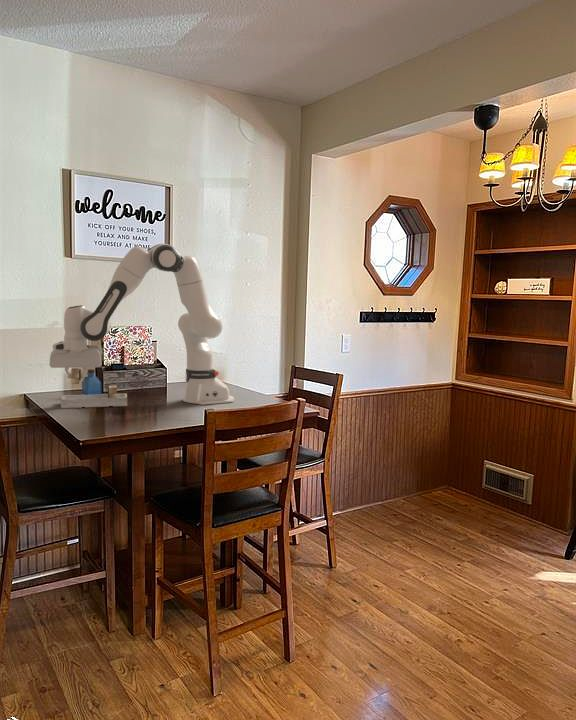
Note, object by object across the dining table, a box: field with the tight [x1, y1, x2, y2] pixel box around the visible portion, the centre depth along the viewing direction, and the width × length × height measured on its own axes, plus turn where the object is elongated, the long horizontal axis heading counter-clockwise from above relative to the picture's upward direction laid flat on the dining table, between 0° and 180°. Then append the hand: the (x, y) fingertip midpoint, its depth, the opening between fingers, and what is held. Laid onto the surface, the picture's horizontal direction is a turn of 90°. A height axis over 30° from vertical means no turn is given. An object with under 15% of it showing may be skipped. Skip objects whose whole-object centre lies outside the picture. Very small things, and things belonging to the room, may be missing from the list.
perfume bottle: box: [81, 368, 102, 395], centre depth 258 cm, size 6×6×12 cm
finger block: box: [70, 368, 82, 385], centre depth 238 cm, size 4×5×6 cm
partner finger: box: [107, 384, 118, 398], centre depth 243 cm, size 4×5×6 cm
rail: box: [60, 393, 128, 409], centre depth 241 cm, size 26×10×4 cm, turn 107°
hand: (76, 378), depth 238 cm, fingers closed on finger block, 3 cm apart
